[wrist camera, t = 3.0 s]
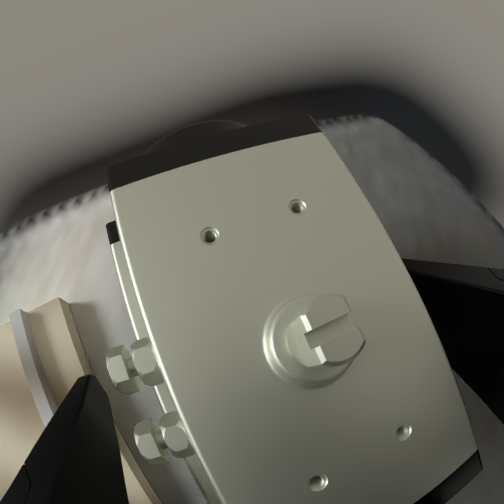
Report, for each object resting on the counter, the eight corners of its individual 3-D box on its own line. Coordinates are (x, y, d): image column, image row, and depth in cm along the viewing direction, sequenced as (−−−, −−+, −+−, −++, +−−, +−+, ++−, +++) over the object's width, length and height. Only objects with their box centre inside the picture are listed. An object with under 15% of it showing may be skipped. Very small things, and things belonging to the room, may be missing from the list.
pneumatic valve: (248, 248, 17) (290, 43, 6) (337, 448, 13) (525, 514, 2) (150, 283, 16) (48, 102, 5) (236, 492, 12) (273, 668, 1)
